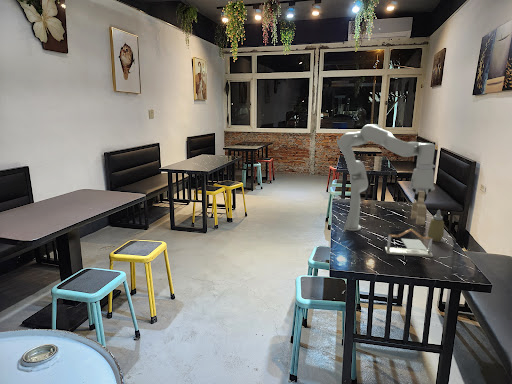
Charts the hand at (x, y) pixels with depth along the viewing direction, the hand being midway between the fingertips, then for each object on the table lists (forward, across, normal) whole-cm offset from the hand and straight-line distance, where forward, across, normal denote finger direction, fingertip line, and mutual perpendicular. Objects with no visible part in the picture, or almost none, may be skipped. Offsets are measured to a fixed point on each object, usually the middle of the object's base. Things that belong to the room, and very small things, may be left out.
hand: (419, 200), depth 175 cm
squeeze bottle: (+26, -14, -10) cm, 31 cm away
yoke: (+12, 0, 0) cm, 12 cm away
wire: (+26, +6, +12) cm, 29 cm away
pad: (+26, 0, 0) cm, 26 cm away
